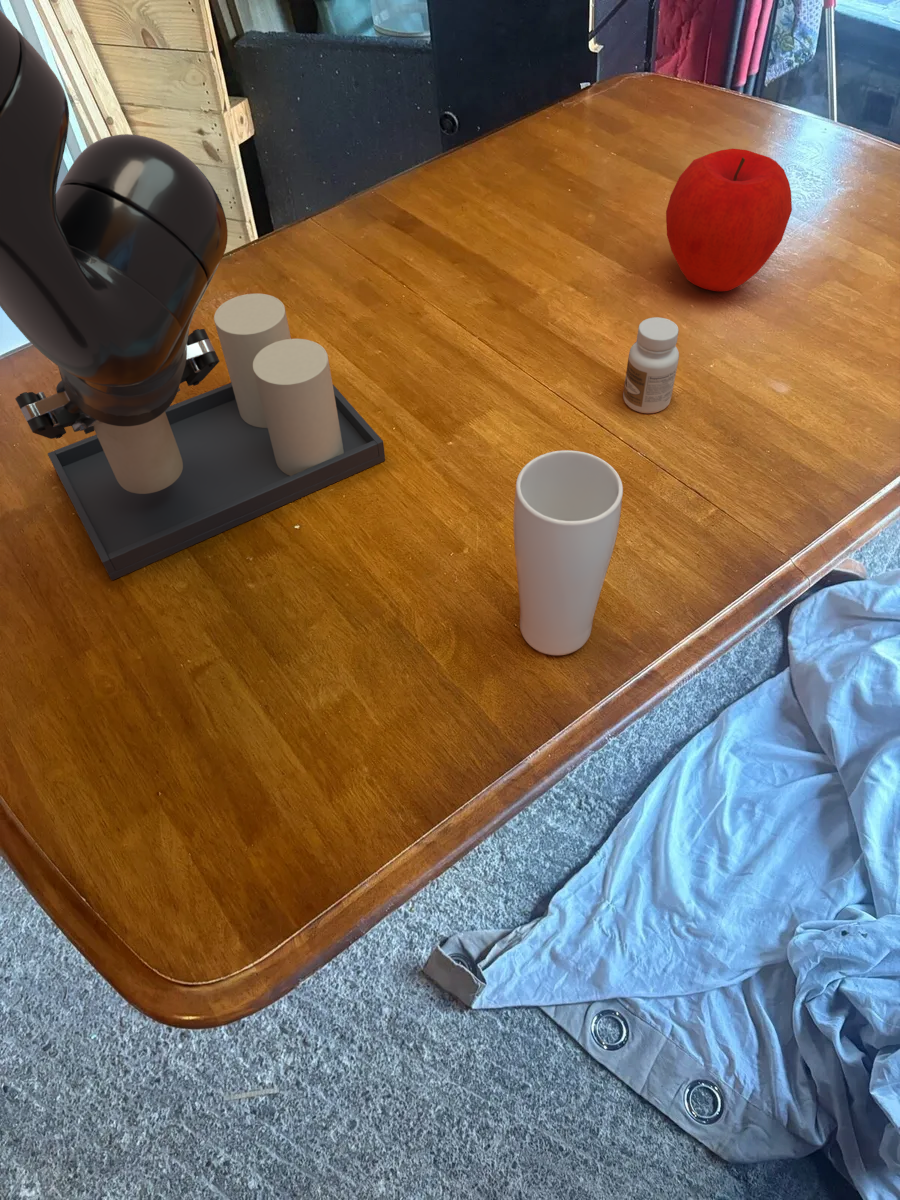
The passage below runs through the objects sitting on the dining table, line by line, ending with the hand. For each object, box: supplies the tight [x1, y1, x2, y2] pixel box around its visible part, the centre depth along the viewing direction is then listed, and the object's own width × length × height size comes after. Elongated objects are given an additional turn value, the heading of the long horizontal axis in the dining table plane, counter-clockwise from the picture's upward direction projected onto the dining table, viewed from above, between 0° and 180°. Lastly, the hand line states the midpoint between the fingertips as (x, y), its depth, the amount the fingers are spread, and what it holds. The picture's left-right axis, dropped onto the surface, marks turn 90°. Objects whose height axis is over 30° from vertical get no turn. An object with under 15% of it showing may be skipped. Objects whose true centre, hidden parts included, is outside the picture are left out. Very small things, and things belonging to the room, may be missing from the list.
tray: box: [47, 382, 386, 581], centre depth 78 cm, size 25×15×2 cm, turn 122°
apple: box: [665, 148, 793, 292], centre depth 89 cm, size 12×12×13 cm
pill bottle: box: [622, 316, 680, 414], centre depth 80 cm, size 4×4×8 cm
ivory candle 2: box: [253, 338, 344, 476], centre depth 75 cm, size 6×6×10 cm
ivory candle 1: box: [213, 293, 292, 428], centre depth 79 cm, size 6×6×10 cm
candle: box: [94, 412, 183, 494], centre depth 70 cm, size 6×6×10 cm
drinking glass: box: [512, 449, 624, 656], centre depth 61 cm, size 7×7×15 cm
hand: (121, 406), depth 71 cm, fingers closed on candle, 5 cm apart
